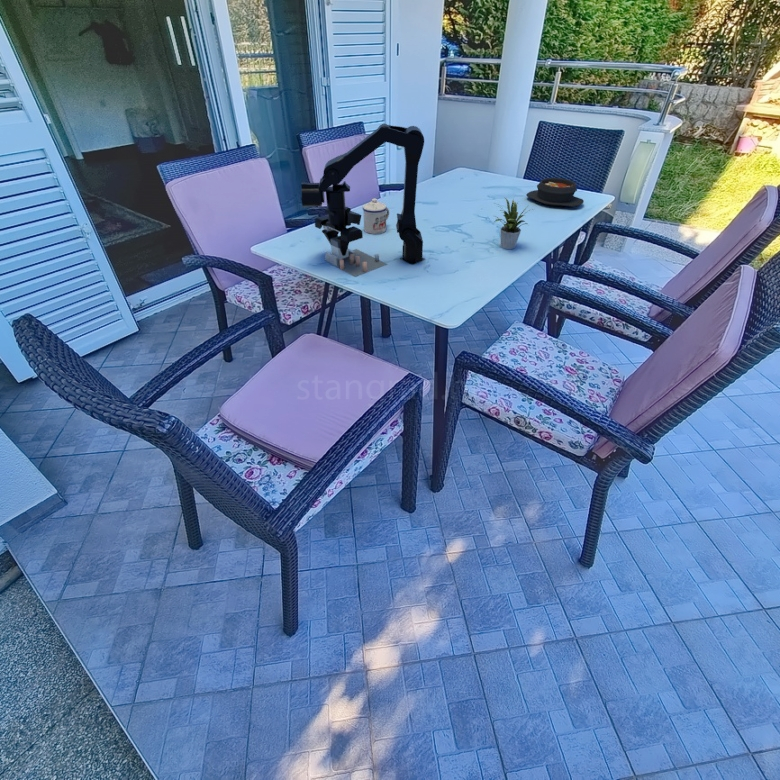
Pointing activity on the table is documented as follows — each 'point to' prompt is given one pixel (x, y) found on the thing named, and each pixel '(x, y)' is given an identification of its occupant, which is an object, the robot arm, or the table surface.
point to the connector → (337, 249)
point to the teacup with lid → (375, 217)
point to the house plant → (510, 226)
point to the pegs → (357, 261)
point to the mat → (358, 270)
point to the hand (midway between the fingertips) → (340, 253)
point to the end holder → (333, 258)
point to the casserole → (556, 192)
